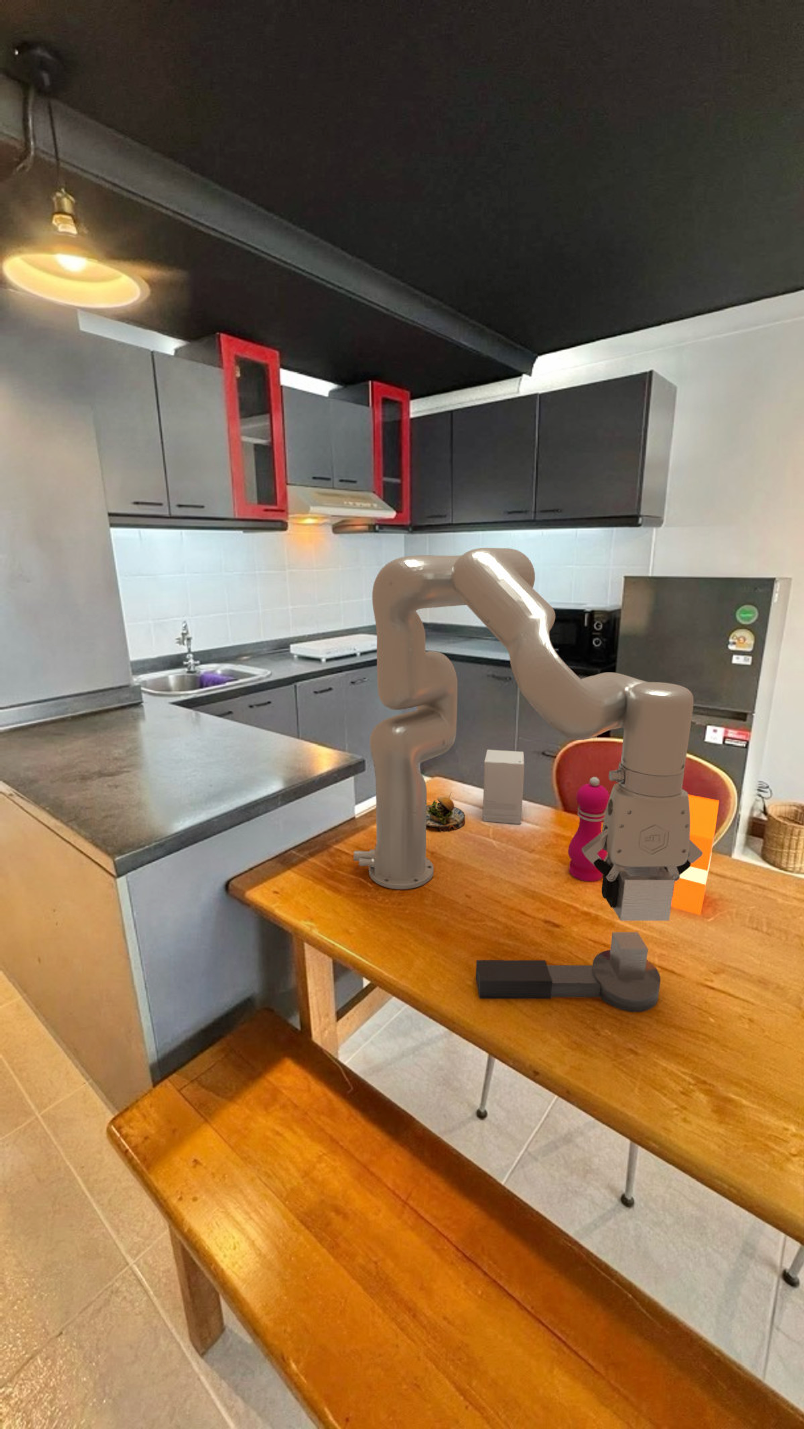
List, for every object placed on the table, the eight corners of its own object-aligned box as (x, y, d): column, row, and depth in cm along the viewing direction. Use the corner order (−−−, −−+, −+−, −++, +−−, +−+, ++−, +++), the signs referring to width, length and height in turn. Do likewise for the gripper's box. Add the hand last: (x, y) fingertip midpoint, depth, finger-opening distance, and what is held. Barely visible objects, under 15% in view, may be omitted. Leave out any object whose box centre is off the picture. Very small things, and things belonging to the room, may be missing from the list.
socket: (620, 920, 76) (625, 880, 74) (604, 893, 82) (607, 855, 80) (669, 920, 76) (674, 880, 74) (649, 893, 82) (653, 855, 80)
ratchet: (481, 1012, 78) (484, 962, 76) (473, 966, 87) (475, 920, 85) (669, 1012, 78) (676, 962, 76) (642, 966, 87) (648, 920, 85)
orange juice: (700, 915, 99) (718, 808, 94) (646, 899, 104) (659, 797, 99) (705, 893, 106) (721, 792, 100) (653, 879, 110) (666, 782, 105)
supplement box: (521, 809, 141) (525, 751, 137) (521, 825, 132) (525, 763, 128) (484, 805, 143) (486, 748, 139) (481, 821, 134) (484, 760, 130)
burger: (416, 809, 141) (417, 781, 139) (465, 811, 140) (466, 783, 138) (412, 832, 130) (412, 801, 128) (465, 834, 128) (466, 803, 126)
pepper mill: (600, 864, 116) (610, 771, 110) (609, 884, 109) (620, 785, 103) (563, 862, 116) (571, 769, 111) (569, 882, 109) (578, 784, 104)
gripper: (592, 790, 70) (580, 918, 75) (734, 790, 70) (713, 918, 75) (574, 769, 78) (565, 887, 82) (703, 768, 78) (686, 886, 82)
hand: (635, 901), depth 79 cm, fingers closed on socket, 6 cm apart
